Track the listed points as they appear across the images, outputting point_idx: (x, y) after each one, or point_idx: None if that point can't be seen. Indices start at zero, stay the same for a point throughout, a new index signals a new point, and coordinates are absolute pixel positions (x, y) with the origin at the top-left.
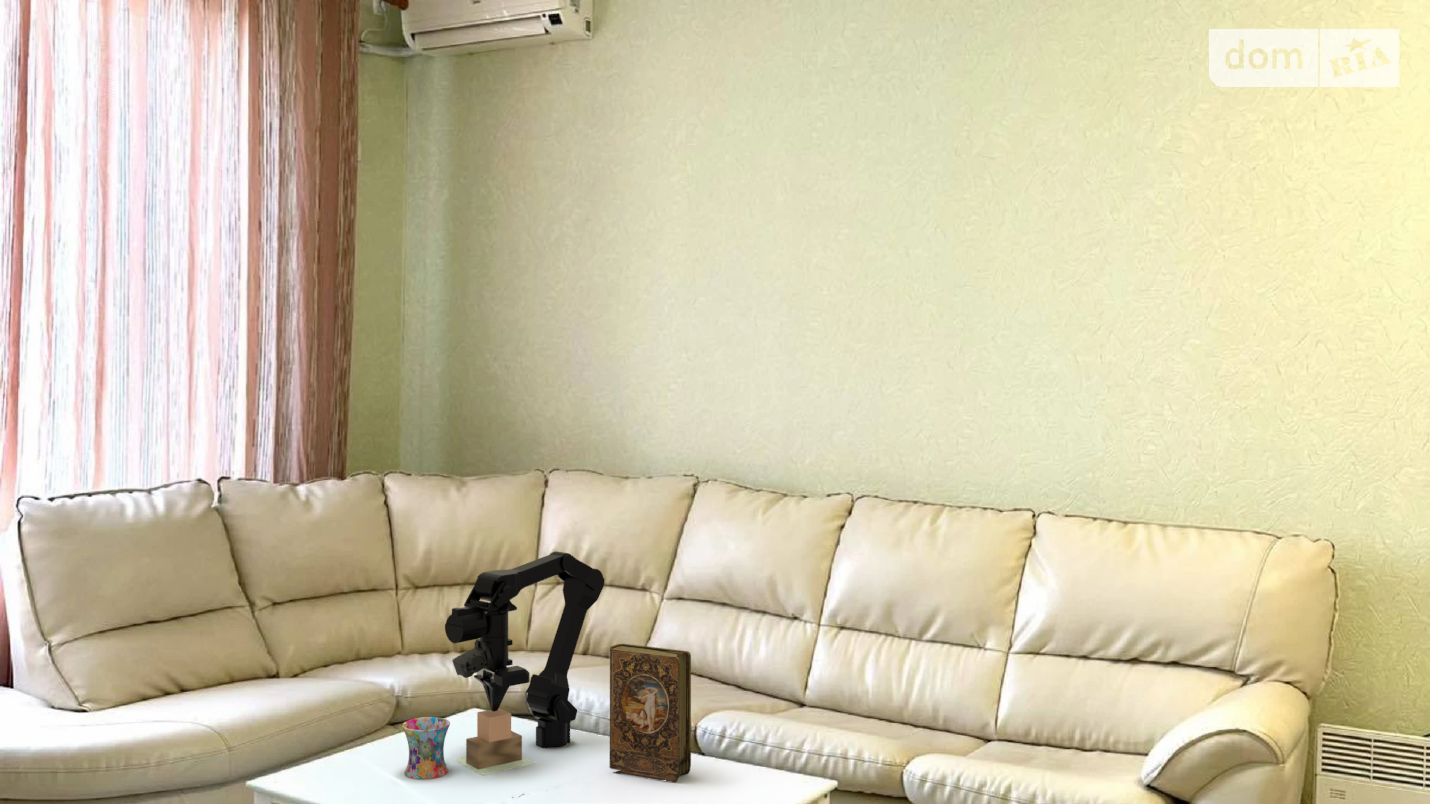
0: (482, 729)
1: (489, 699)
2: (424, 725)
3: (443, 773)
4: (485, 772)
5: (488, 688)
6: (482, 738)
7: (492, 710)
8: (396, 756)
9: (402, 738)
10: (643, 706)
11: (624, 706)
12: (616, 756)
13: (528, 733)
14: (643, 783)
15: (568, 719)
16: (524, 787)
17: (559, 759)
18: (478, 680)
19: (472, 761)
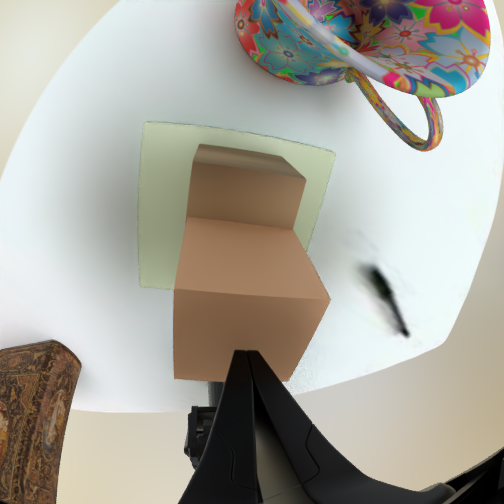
0: (255, 245)
1: (266, 404)
2: (448, 49)
3: (238, 32)
4: (157, 144)
5: (290, 475)
6: (249, 225)
7: (238, 351)
8: (459, 115)
9: (490, 205)
10: None
11: (5, 439)
12: (37, 363)
13: (330, 362)
14: (4, 331)
15: (188, 421)
16: (34, 180)
17: (160, 336)
18: (401, 493)
19: (240, 151)
